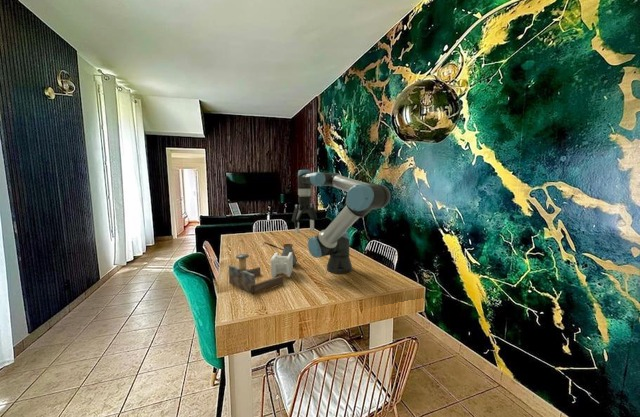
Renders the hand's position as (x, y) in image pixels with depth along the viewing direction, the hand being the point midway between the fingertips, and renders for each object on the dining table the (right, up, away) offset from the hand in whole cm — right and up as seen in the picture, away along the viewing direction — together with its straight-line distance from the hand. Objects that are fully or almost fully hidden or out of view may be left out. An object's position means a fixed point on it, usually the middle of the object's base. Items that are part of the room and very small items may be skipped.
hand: (304, 231), depth 158 cm
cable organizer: (-12, -24, -11) cm, 29 cm away
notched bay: (-24, -25, -23) cm, 41 cm away
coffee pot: (-16, -22, +7) cm, 28 cm away
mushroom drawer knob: (-36, -23, -7) cm, 43 cm away
